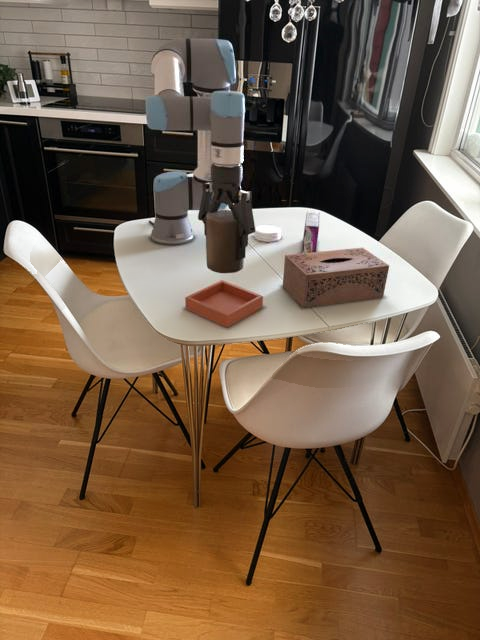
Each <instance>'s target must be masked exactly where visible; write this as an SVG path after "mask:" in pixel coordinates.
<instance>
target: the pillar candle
mask: <svg viewBox="0 0 480 640" xmlns="http://www.w3.org/2000/svg"><path fill="white" fill-rule="evenodd" d="M206 230H207V231H206V236H205V251H206V253H205V254H206V256H205V260H206V268H207V269H208V270H210V271H212V272H213V273H217V274H235V273H238V272H240V271H242V270H243V268H244V261H245V260H244V259H245V258H243V259H241V260H236V247H237V235H238V234H240V233H239V231H238V228H237V220H235V219H234V217H233V214H232V211H231V209H223V210H218V211H216V212H213V213H209V212H208V214H207V216H206ZM243 230H244V228H243ZM206 237H207V238H206ZM206 241H207V243H206ZM206 245H207V246H206Z"/></svg>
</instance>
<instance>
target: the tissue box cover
mask: <svg viewBox="0 0 480 640" xmlns="http://www.w3.org/2000/svg"><path fill="white" fill-rule="evenodd" d="M389 269H390V265H389V264H388V263H386V262H385V261H384V260H382V259H381V258H379V257H378V256H376V255H375V254H373V253H371V252H370V251H368V249H366V248H364V247H355V248H353V247H352V248H344V249H334V250H324V251H316V252H312V253H302V252H301V253H294V254H285V255H284V265H283V275H282V287H283V288H284V289H285V291H286V292H287V293H288V294H289V295H290V296H291V297H292V299H294V300H295V301H296V302H297V304H298V305H299V306H300V307H301V308H302V309H306V308H313V307H321V306H328V305H329V306H330V305H335V304H344V303H351V302H359V301H365V300H373V299H382V298H384V295H385V289H386V283H387V280H388V275H389Z"/></svg>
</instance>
